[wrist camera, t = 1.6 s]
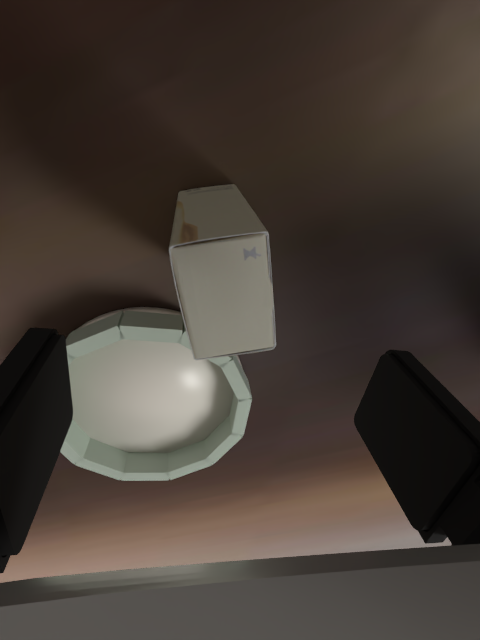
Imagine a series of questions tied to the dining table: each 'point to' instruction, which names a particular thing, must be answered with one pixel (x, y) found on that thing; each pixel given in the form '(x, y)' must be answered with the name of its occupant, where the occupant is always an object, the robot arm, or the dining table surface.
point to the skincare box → (222, 273)
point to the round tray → (150, 398)
